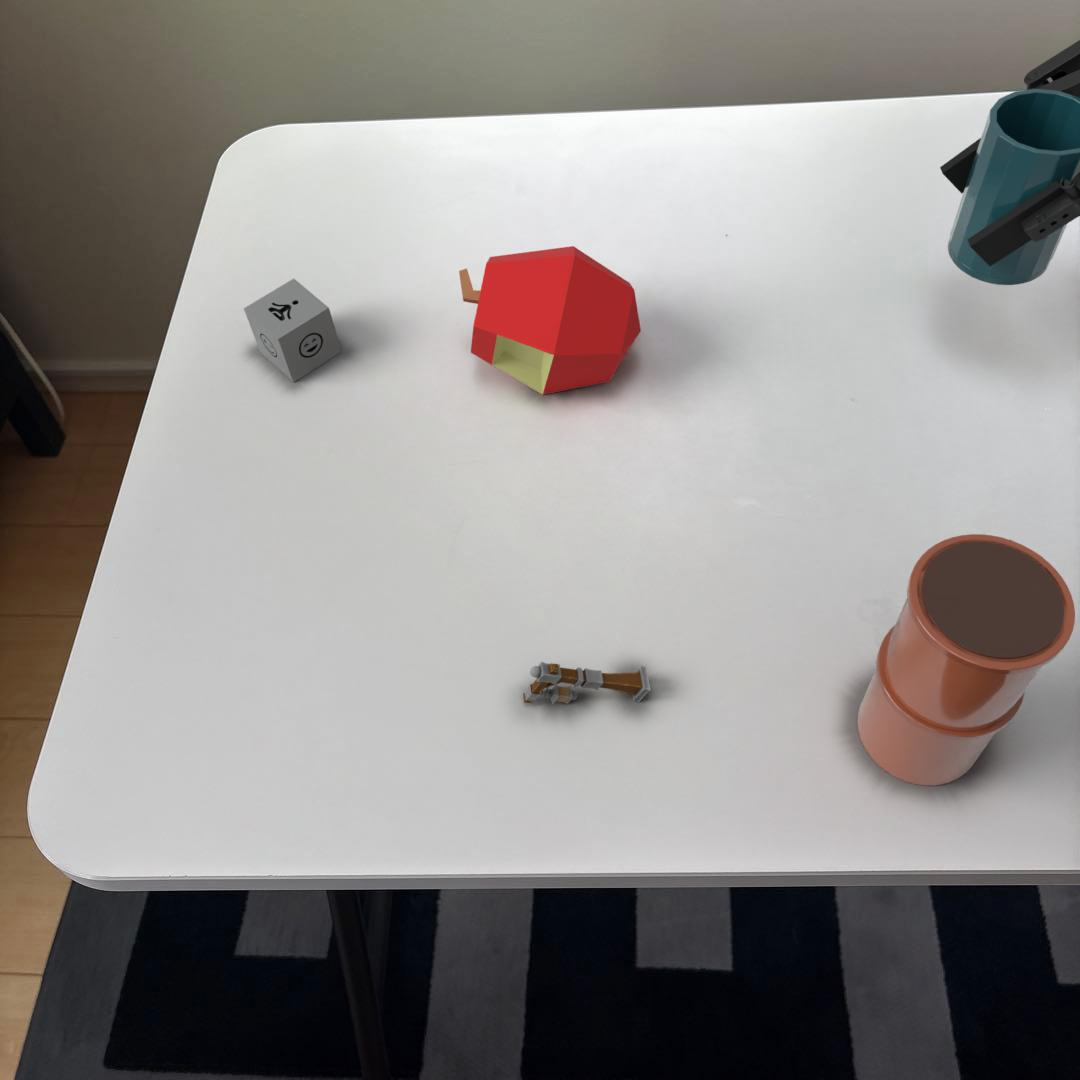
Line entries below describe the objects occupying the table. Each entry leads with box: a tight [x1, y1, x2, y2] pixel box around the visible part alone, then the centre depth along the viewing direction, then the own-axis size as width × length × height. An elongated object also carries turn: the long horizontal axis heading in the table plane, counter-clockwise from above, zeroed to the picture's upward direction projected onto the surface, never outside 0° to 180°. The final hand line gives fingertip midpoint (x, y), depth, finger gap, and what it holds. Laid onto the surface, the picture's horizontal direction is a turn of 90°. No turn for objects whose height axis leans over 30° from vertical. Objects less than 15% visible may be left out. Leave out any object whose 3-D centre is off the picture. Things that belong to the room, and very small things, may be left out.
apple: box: [458, 245, 642, 396], centre depth 83 cm, size 12×12×15 cm
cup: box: [947, 89, 1080, 286], centre depth 75 cm, size 7×7×11 cm
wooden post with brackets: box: [522, 661, 651, 705], centre depth 70 cm, size 2×8×4 cm, turn 95°
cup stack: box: [857, 533, 1076, 786], centre depth 61 cm, size 8×8×16 cm
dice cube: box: [243, 278, 343, 383], centre depth 88 cm, size 5×5×5 cm
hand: (964, 215), depth 77 cm, fingers closed on cup, 7 cm apart
